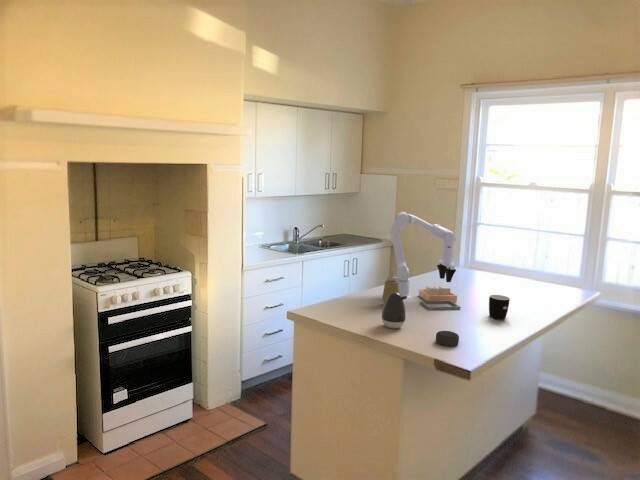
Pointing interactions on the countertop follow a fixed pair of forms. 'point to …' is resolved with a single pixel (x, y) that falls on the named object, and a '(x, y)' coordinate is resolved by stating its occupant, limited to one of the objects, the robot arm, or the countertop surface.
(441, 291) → the stone right
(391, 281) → the squeeze bottle
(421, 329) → the countertop surface
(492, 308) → the mug
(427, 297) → the bin
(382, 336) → the countertop surface
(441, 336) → the smart speaker
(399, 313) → the pump dispenser
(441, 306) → the stone tray
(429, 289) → the block
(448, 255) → the robot arm
